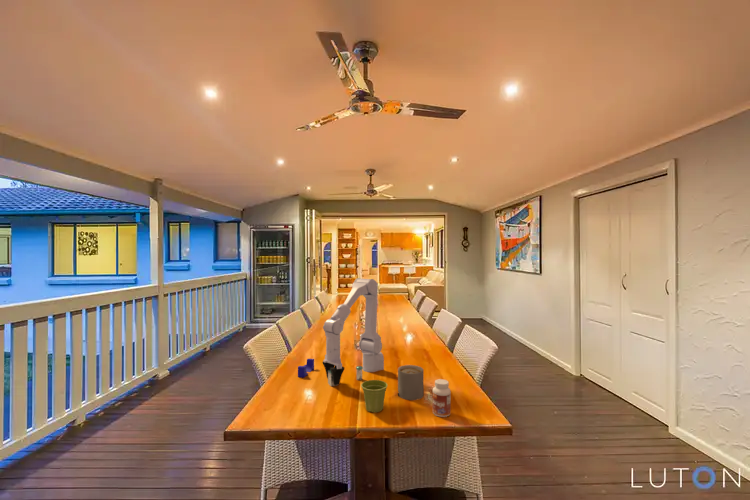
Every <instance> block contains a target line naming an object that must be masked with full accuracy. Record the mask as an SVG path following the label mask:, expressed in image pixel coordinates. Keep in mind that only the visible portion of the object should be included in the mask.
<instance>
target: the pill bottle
mask: <svg viewBox="0 0 750 500" xmlns="http://www.w3.org/2000/svg"><path fill="white" fill-rule="evenodd" d="M449 385H450V384H449V381H448V380H447V379H442V378H439V379H435V380H434V386H433V388H432V414H434V416H436V417H439V418H447V416H448V417H449V416H450V415H451V407H452V406H451V404H452V402H451V395H452V394H451V389H450V387H449Z"/></svg>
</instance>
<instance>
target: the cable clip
mask: <svg viewBox="0 0 750 500" xmlns="http://www.w3.org/2000/svg"><path fill="white" fill-rule="evenodd" d="M312 371H315V358H307V359H306V364H304V365H299V366H297V377H298V378H306V377H307V376H308V375H309V374H310V373H311V372H312Z"/></svg>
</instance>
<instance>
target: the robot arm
mask: <svg viewBox="0 0 750 500" xmlns="http://www.w3.org/2000/svg"><path fill="white" fill-rule="evenodd" d="M378 287H379V283H378V282H377V281H376V280H375V278H360V277H357V278H355V280H354V281H353V283H352V286H351V290H350V292H349V293H348V295H347V297H346V299H345V300H344V302H343V303H340V304H339V305H338V306H337V307H336V310H334V313H332V315H331V317H330V318H328V319H326V321H324V323H323V326H322V329H323V331H324V334H325V335H324V336H325V338H326V339H325V340H326V341H325V344H326V346H325V348H326V349H325V353H326V354H325V355H324V359H323V361H322V362H321V363H322V364H323V367H324V370H325V374H326V378H327V380H328V370H331V372H332V376H333V383H334V385H336V386H339V385H340V383H341V379H342V375H343V373H344V371H345V367H344V366H343V363H342V359H341V333H342V332H343V330H344V327H345V326H344V325H345V322H346V320H347V319H348V318H349V315H350V314H351V313H352V312H351V308H352V306H353V305H354V304H355V303H356V302H357V300H358V298H359V297H361V296H363V297H364V298H365V312H364V313H365V316H364V317H365V318H364V332H363V333H362V334H361V335H360V339H359V343H358V348H359V350H360V351H361V353H362V367H363V369H362V372H367V373H375V372H379V371H384V369H385V367H384V366H385V363H384V361H385V358H384V354H383V352H382V349H383V343H382V337H381V335H380V334H378V332H377V326H378V324H377V320H378V319H377V318H378V294H379V293H378Z"/></svg>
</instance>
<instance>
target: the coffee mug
mask: <svg viewBox="0 0 750 500" xmlns="http://www.w3.org/2000/svg"><path fill="white" fill-rule="evenodd" d="M397 391H398V392H397V395H398V397H399V398H401V399H403V400H408V401H417V400H420V399H422V398H423V397H424V368H423V367H421V366H419V365H413V364H405V365H401V366H399V367H397Z"/></svg>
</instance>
